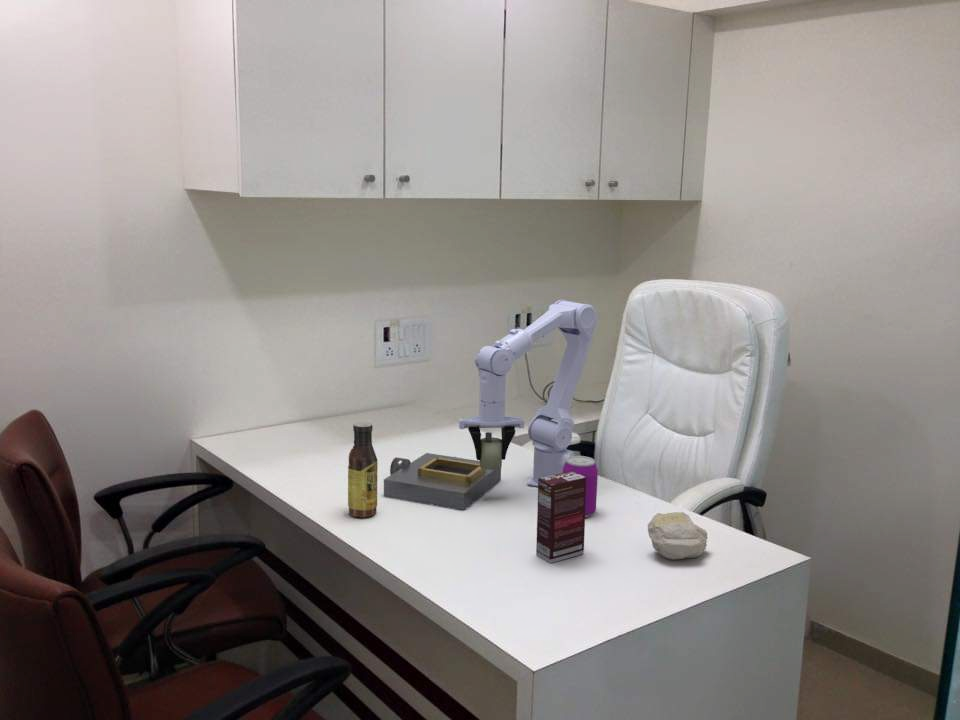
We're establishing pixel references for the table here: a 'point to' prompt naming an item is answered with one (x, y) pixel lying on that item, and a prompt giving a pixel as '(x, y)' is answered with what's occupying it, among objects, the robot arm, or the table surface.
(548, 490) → the supplement box
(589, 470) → the beverage can
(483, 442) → the spout can
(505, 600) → the table surface
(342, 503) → the table surface
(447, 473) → the grey panel with frame
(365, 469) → the sauce bottle
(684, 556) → the beige lumpy stone
